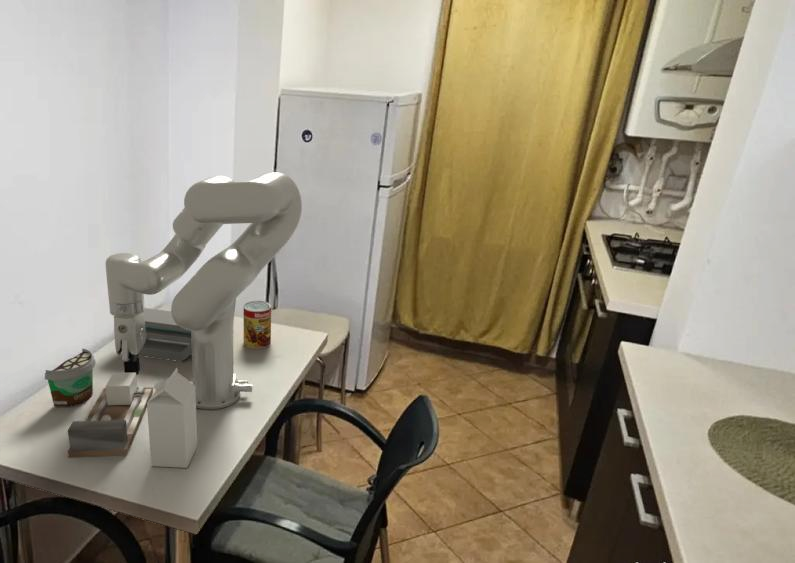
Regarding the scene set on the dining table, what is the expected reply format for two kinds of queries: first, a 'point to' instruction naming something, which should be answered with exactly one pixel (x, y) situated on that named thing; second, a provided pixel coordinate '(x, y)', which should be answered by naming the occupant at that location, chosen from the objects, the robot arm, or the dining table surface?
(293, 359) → the dining table surface
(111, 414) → the gauge board
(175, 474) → the dining table surface
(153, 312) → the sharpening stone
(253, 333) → the canned food
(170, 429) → the milk carton
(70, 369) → the food container
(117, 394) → the gauge carriage
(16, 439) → the dining table surface
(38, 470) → the dining table surface
